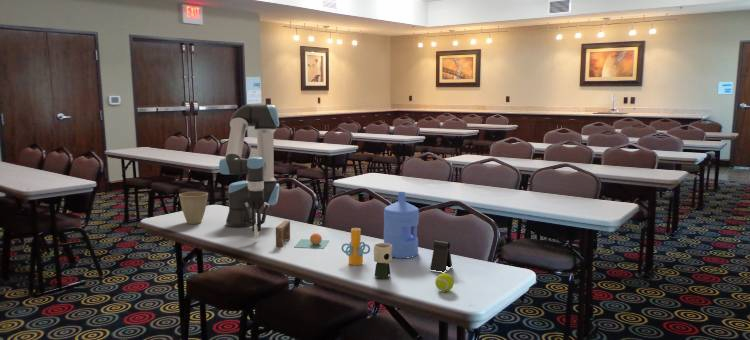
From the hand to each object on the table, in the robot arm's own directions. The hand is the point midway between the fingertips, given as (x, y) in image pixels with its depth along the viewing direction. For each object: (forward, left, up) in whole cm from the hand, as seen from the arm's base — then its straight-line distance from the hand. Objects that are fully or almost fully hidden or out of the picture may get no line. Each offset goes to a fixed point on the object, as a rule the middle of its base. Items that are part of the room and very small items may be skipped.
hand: (256, 237), depth 269 cm
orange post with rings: (+27, +52, -2) cm, 59 cm away
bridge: (0, +13, -2) cm, 13 cm away
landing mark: (0, +27, -2) cm, 27 cm away
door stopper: (+30, +88, -2) cm, 93 cm away
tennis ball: (+55, +89, -2) cm, 105 cm away
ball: (+1, +29, +1) cm, 29 cm away
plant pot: (-33, -46, -2) cm, 57 cm away
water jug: (+10, +70, -2) cm, 71 cm away
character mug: (+43, +65, -2) cm, 78 cm away
